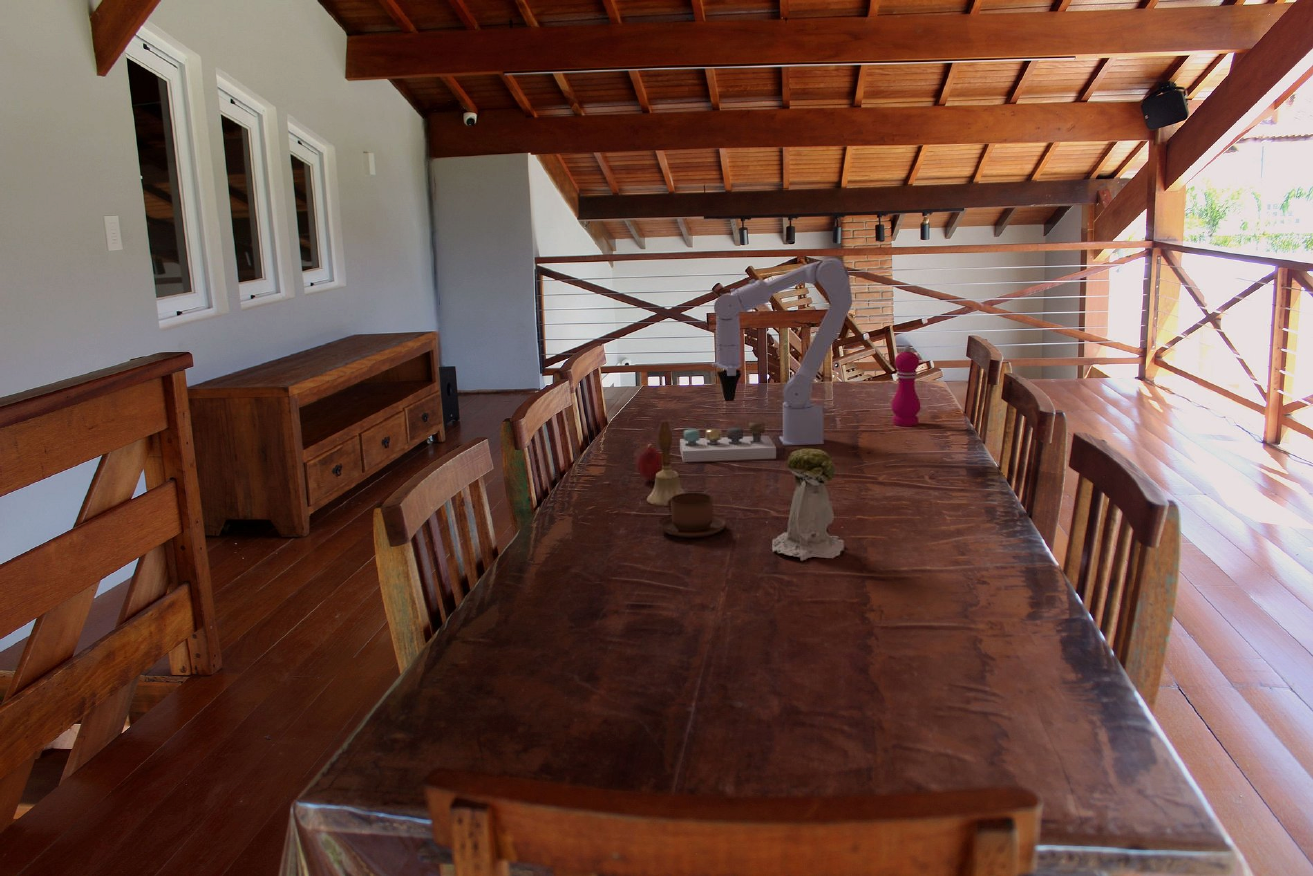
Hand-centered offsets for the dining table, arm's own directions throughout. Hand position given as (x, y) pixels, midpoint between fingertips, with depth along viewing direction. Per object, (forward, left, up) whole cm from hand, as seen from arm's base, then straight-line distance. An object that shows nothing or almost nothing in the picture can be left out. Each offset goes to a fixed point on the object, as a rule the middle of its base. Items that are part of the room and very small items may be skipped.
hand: (729, 400), depth 242 cm
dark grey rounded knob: (0, +13, -8) cm, 15 cm away
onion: (+20, +34, -10) cm, 41 cm away
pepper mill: (-46, -11, -10) cm, 48 cm away
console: (+2, +13, -10) cm, 16 cm away
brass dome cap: (+5, +13, -8) cm, 16 cm away
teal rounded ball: (+10, +13, -8) cm, 18 cm away
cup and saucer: (+13, +68, -10) cm, 70 cm away
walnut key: (-5, +13, -7) cm, 16 cm away
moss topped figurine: (-5, +80, -10) cm, 81 cm away
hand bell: (+17, +48, -10) cm, 52 cm away
